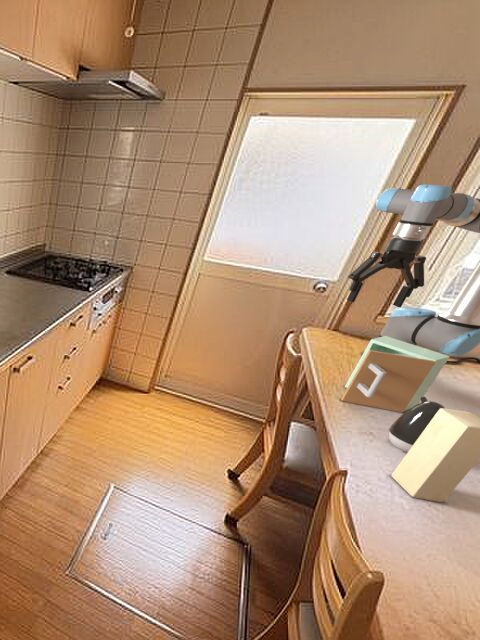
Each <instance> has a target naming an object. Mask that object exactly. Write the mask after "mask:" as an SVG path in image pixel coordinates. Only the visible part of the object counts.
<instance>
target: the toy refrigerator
mask: <svg viewBox="0 0 480 640" xmlns="http://www.w3.org/2000/svg"><path fill="white" fill-rule="evenodd" d="M479 460H480V417H479V416H477V415H476V414H474V413H472V412H470V411H463V410H457V409H450V408H445V409H444V408H440V409H439V410H438V412H437V413H436V414H435V416H434V417H433V419H432V420H431V421H430V423H429V424H428V425H427V427H426V428H425V430H424V431H423V432H422V434H421V435H420V436H419V438H418V439H417V441H416V442H415V443H414V445H413V446H412V447H411V449H410V450H409V452H406V454H405V456H404V457H403V458H402V460H401V461H400V462H399V464H398V465H397V466H396V468H395V469H394V470H393V472H392V473H391V475H390V477H392V479H393V480H394V481H395V482H396V483H398V485H400V486H401V487H402V488H403V490H405V491H406V492H407V493H408V495H410V496H411V497H412V498H414V499H421V500H427V501H433V502H438V503H444V502H445V501H446V500H447V498H448V497H450V495H451V494H452V493H453V492H454V490H455V489H456V488H457V486H458V485H459V484H460V483H461V482H462V481H463V480H464V478H465V477H466V476H467V475H468V473H469V472H470V471H471V470H472V468H474V466H475V465H476V464H477V462H478V461H479Z"/></svg>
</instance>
